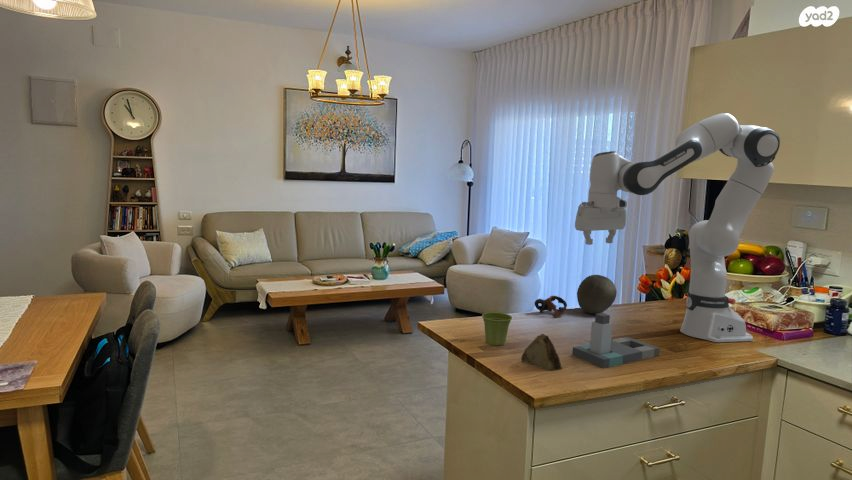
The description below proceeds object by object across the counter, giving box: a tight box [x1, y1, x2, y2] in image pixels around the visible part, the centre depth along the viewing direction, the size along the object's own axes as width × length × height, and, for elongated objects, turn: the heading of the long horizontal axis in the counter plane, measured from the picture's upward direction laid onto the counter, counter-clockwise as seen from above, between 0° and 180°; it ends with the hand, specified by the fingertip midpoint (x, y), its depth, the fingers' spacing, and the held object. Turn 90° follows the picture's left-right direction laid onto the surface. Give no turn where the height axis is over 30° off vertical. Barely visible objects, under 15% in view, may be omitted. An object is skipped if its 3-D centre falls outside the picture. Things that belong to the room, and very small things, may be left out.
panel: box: [572, 336, 660, 369], centre depth 170 cm, size 24×12×2 cm, turn 121°
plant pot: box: [481, 311, 513, 346], centre depth 177 cm, size 9×9×9 cm
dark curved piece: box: [534, 295, 568, 319], centre depth 214 cm, size 12×10×8 cm
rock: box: [520, 333, 563, 371], centre depth 159 cm, size 11×9×10 cm
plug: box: [589, 312, 613, 355], centre depth 165 cm, size 4×4×13 cm
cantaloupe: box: [576, 274, 617, 315], centre depth 217 cm, size 14×14×15 cm
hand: (599, 243), depth 185 cm, fingers open, 8 cm apart
